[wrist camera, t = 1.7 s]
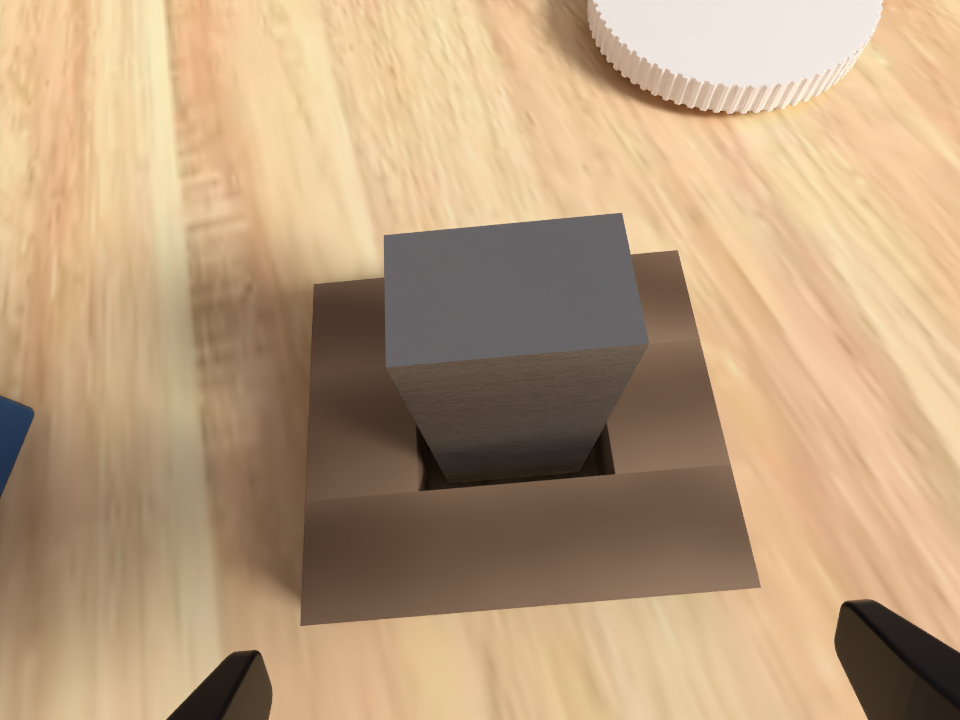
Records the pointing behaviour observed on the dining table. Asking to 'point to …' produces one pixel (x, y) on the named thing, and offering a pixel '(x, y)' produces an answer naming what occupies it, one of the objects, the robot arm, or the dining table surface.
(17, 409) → the protein box
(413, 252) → the gray peg in slot
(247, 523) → the dining table surface
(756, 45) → the plastic lid
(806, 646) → the dining table surface
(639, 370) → the holder box
